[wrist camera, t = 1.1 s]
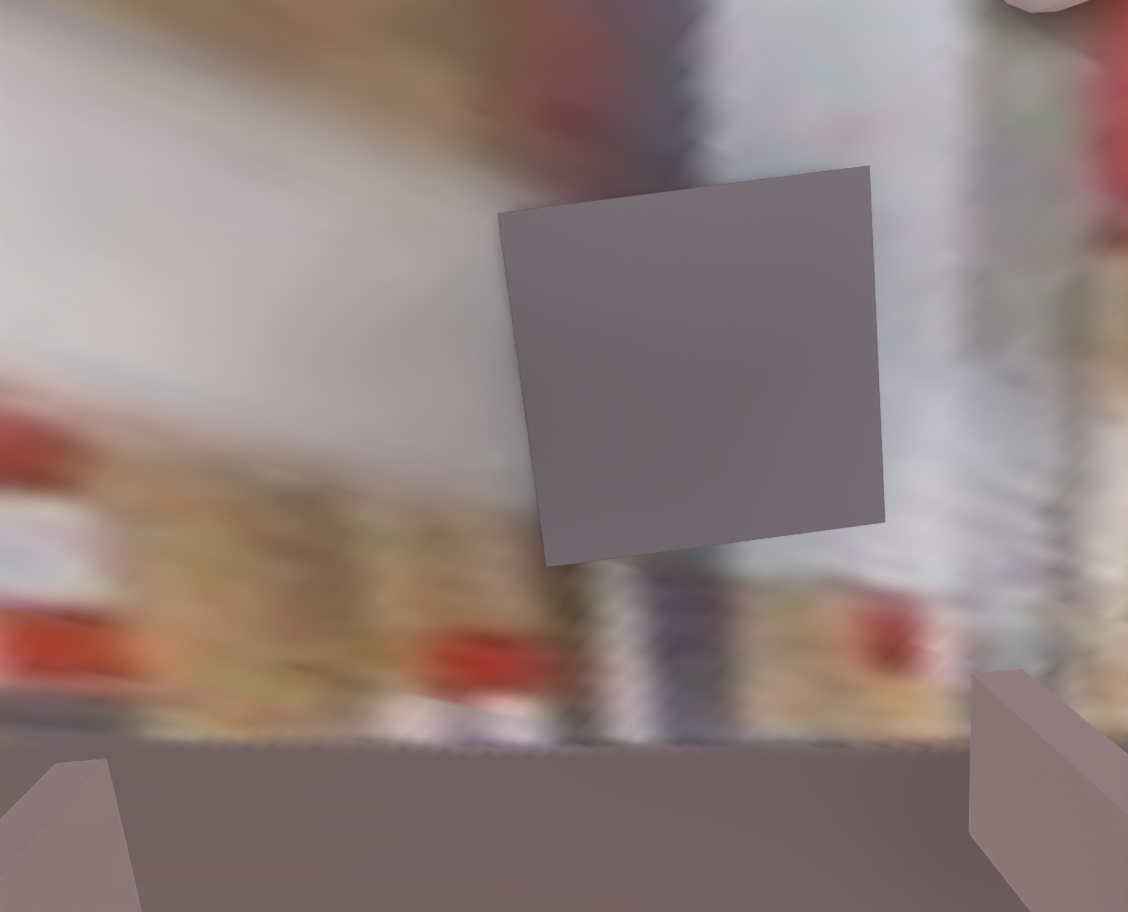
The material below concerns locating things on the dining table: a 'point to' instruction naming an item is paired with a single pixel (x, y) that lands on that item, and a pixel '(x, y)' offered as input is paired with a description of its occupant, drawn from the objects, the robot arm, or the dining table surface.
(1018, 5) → the shot glass
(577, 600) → the dining table surface
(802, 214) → the block
